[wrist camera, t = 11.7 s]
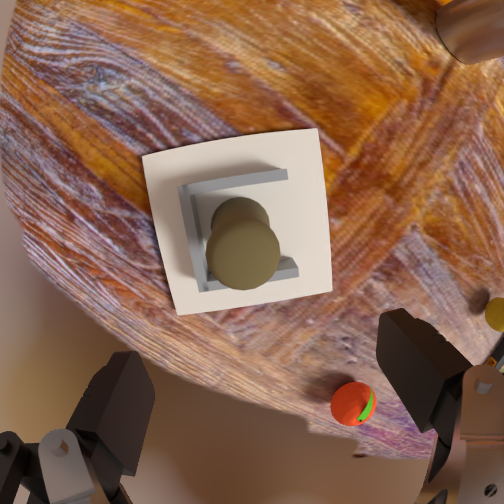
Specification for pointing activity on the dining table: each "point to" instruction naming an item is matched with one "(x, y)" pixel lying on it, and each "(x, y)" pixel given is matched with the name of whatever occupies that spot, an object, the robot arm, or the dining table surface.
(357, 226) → the dining table surface
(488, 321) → the lemon
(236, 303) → the U-rest
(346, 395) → the clementine
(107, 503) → the robot arm
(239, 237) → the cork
